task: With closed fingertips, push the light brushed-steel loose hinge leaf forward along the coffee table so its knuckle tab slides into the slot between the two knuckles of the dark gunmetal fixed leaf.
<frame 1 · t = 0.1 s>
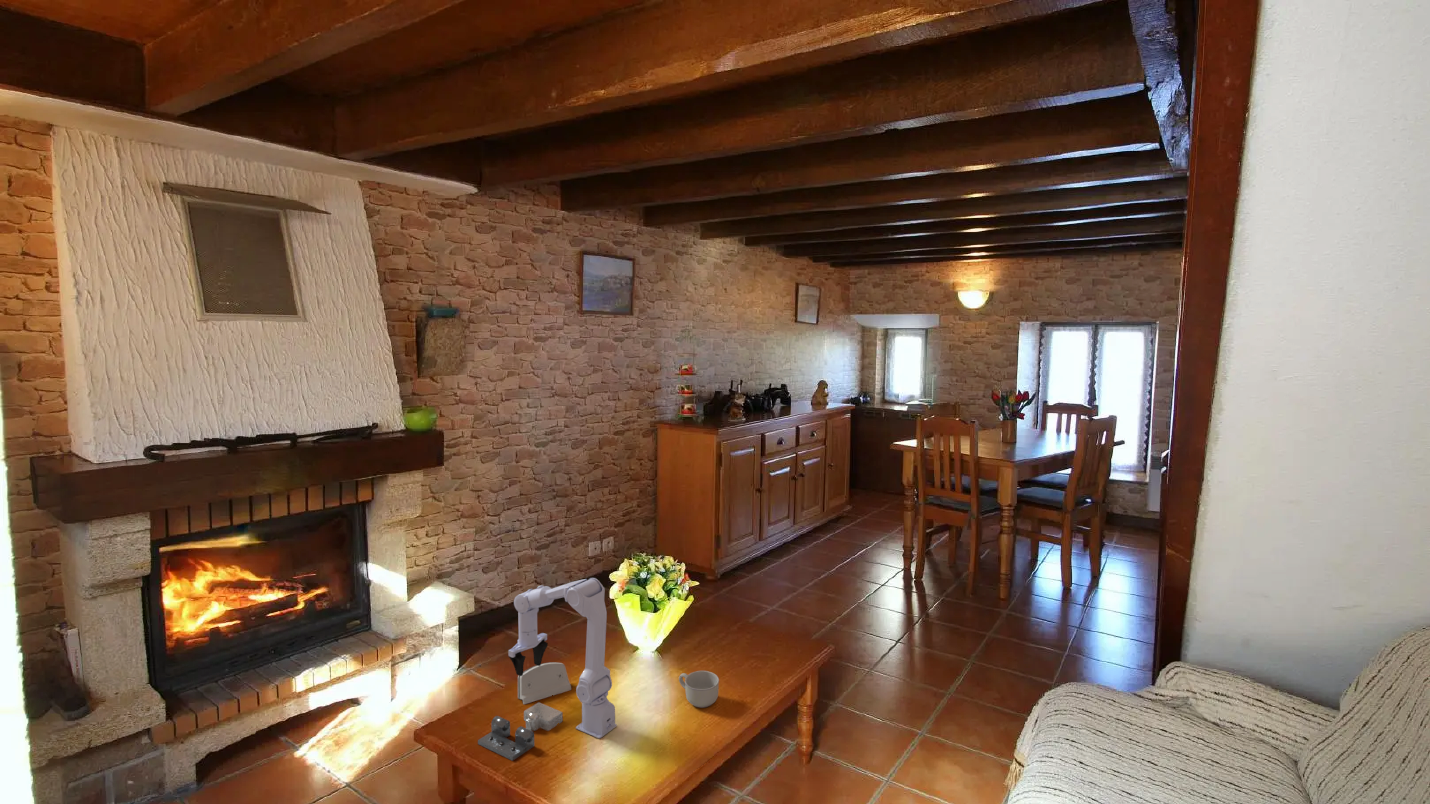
hand: (528, 669, 222), 10 cm above the table, fingers open, 7 cm apart
teacup: (697, 701, 225), on the table
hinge: (543, 692, 228), on the table
loose leaf: (543, 720, 212), on the table
fixed leaf: (508, 743, 200), on the table
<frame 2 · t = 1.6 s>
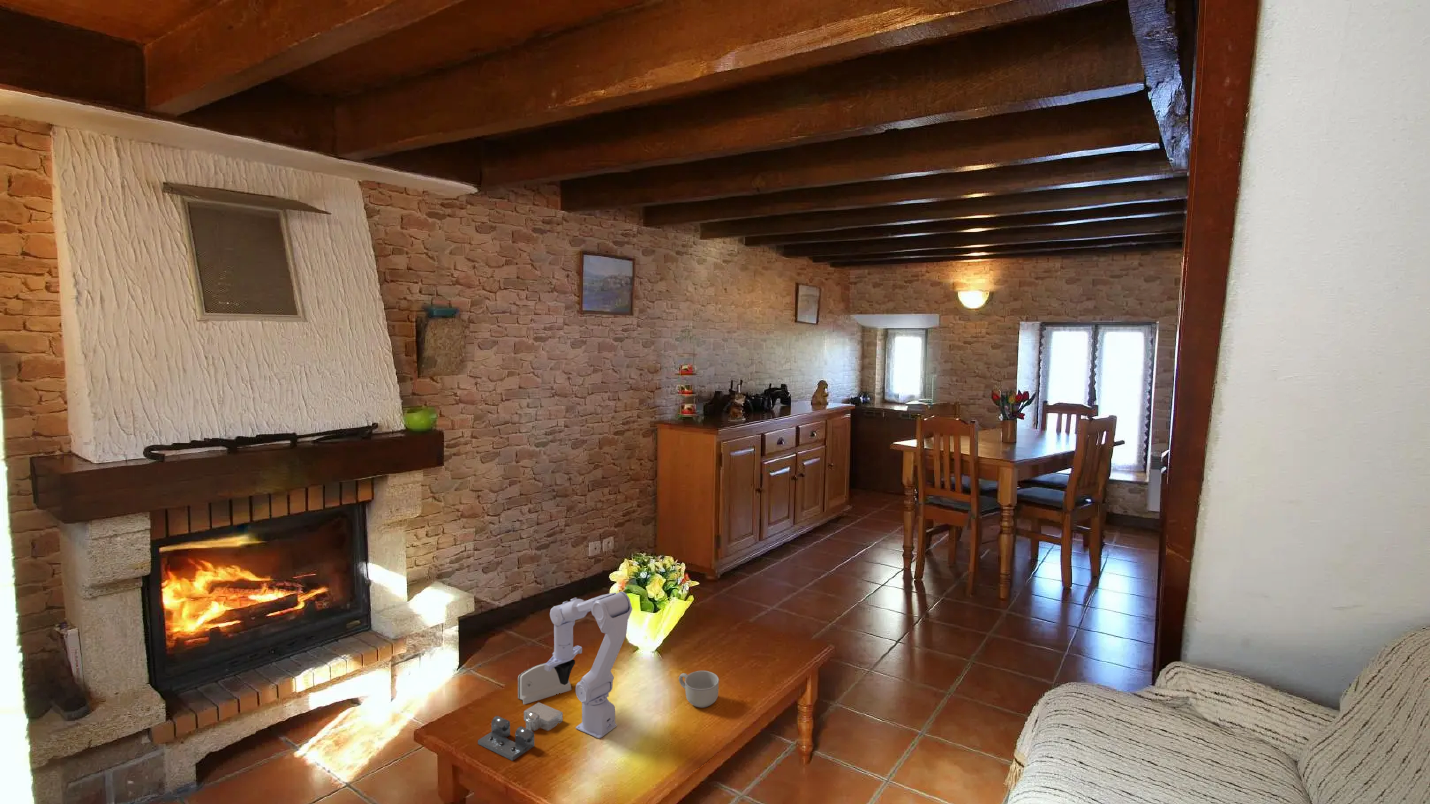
hand: (563, 683, 219), 8 cm above the table, fingers closed
nothing on the table moved.
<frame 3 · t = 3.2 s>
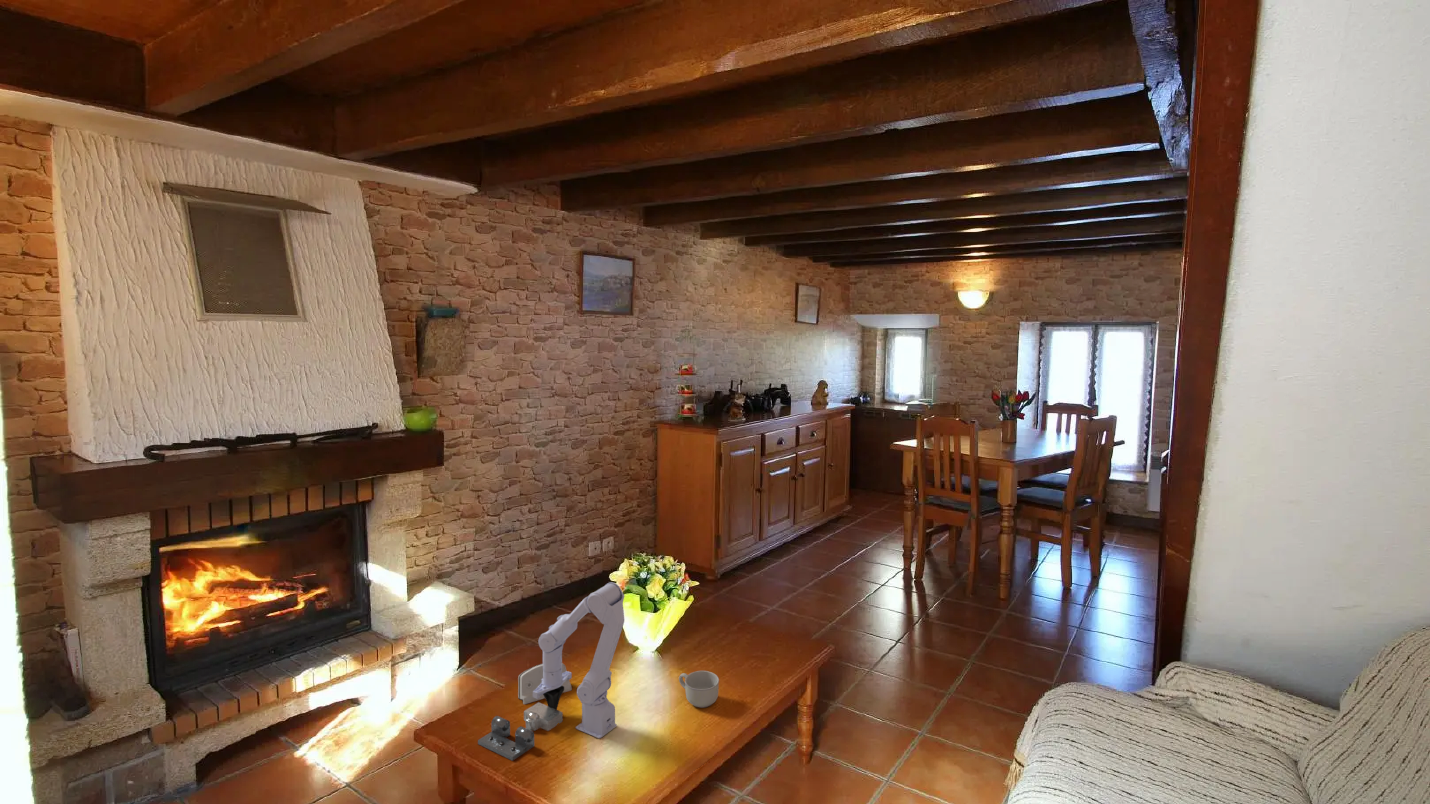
hand: (552, 709, 215), 1 cm above the table, fingers closed
loose leaf: (543, 720, 212), on the table, touching gripper
everything else where it was.
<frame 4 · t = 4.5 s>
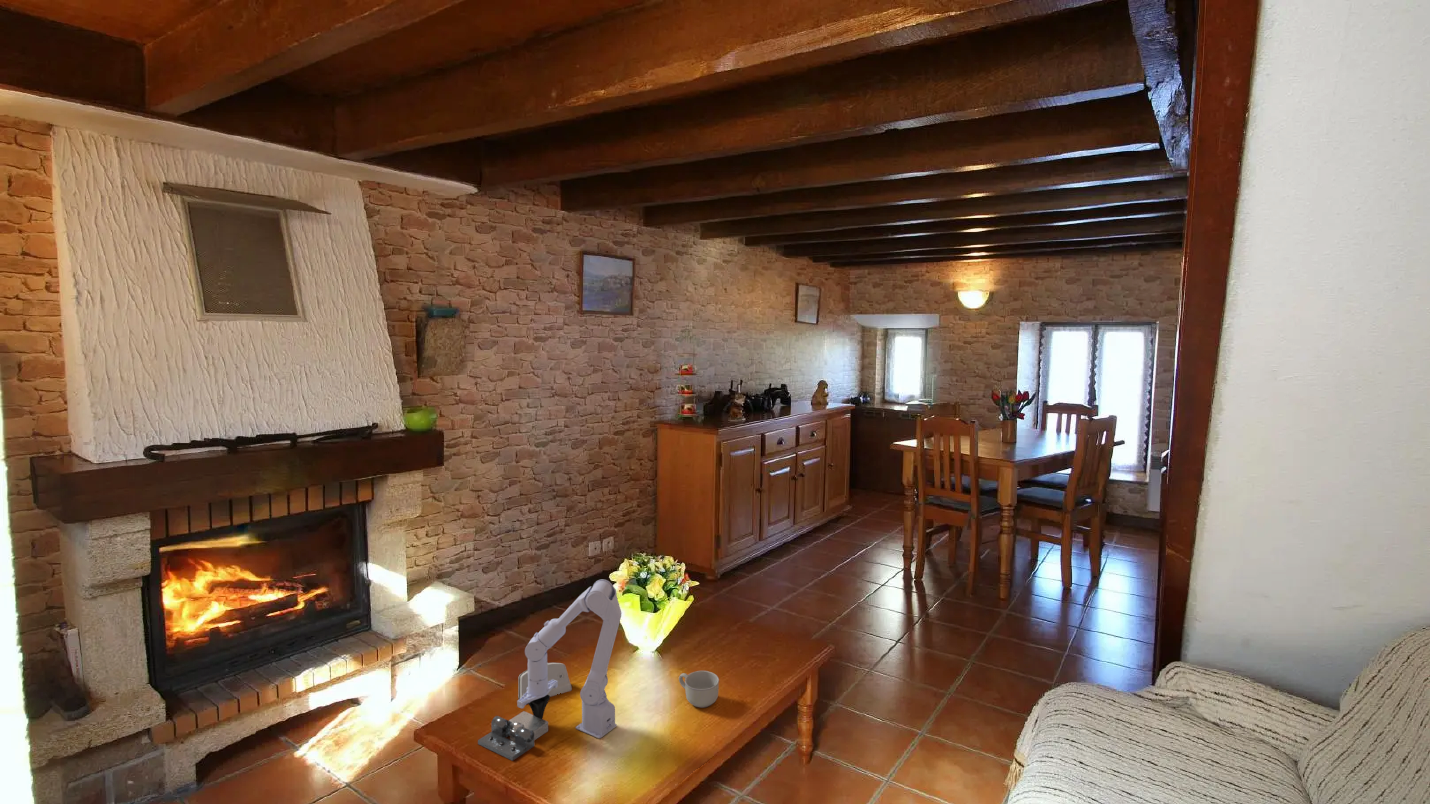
hand: (538, 719, 210), 1 cm above the table, fingers closed
loose leaf: (528, 730, 207), on the table, touching gripper
everything else where it was.
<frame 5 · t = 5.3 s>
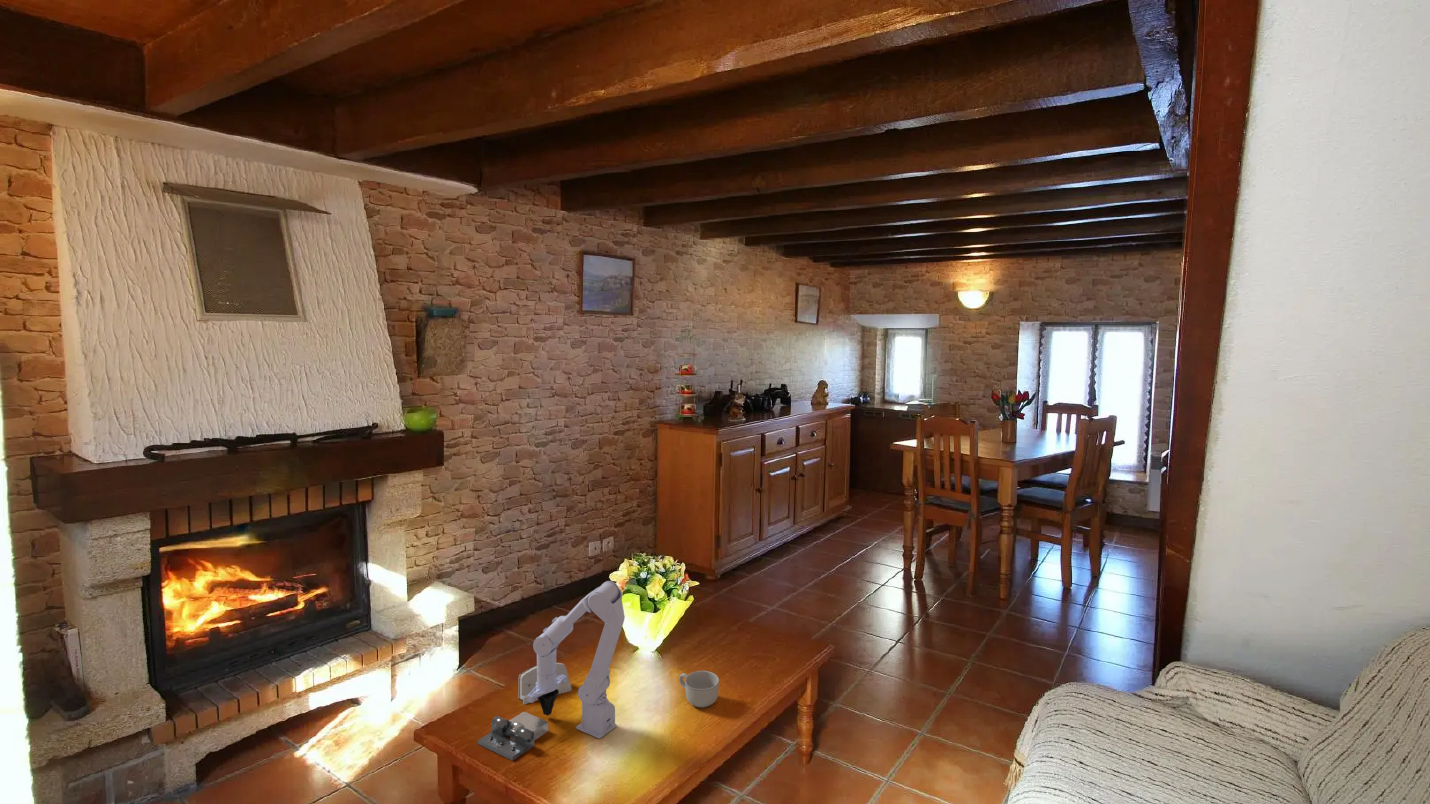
hand: (547, 713, 213), 1 cm above the table, fingers closed
loose leaf: (528, 730, 207), on the table
everything else where it was.
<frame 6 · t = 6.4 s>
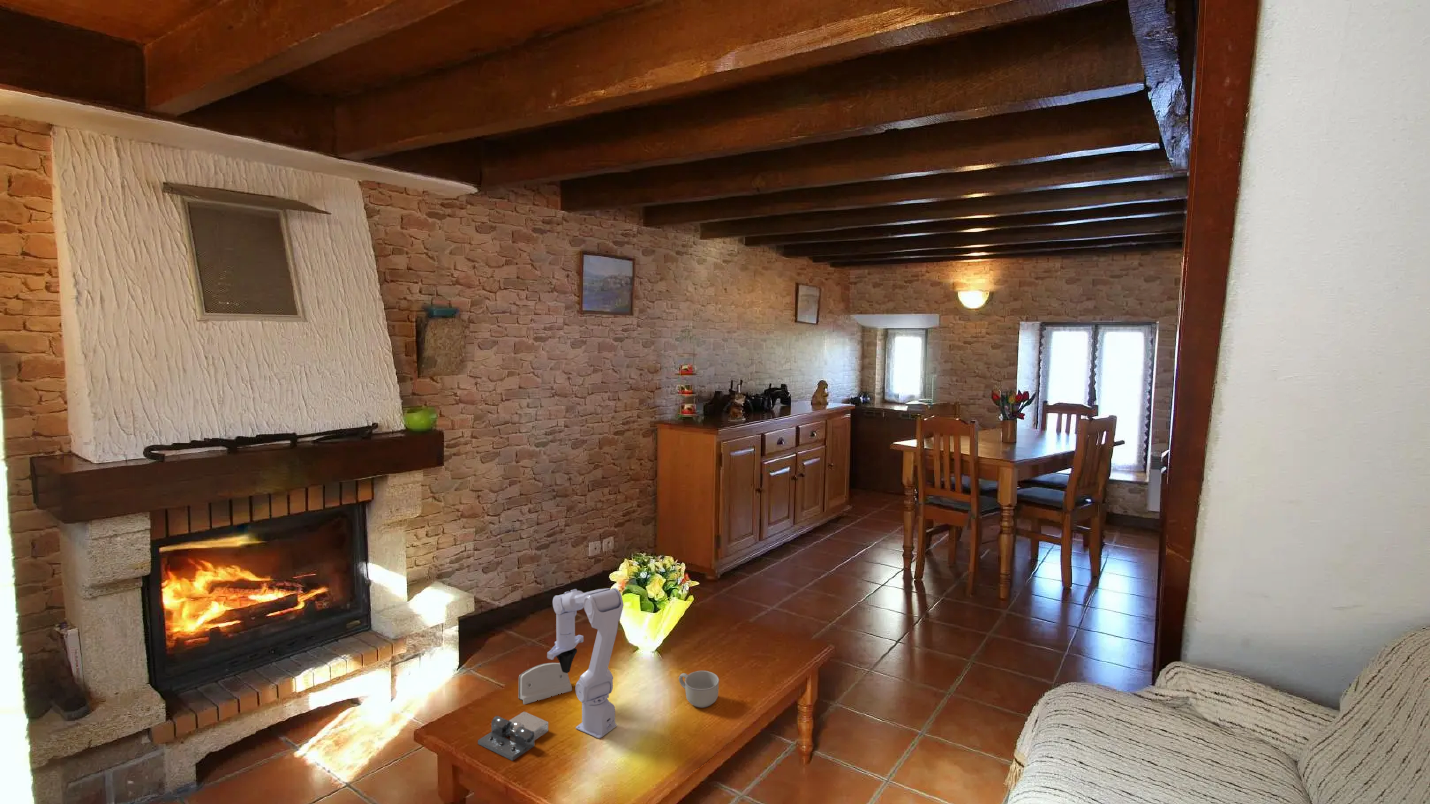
hand: (565, 671, 223), 9 cm above the table, fingers closed
nothing on the table moved.
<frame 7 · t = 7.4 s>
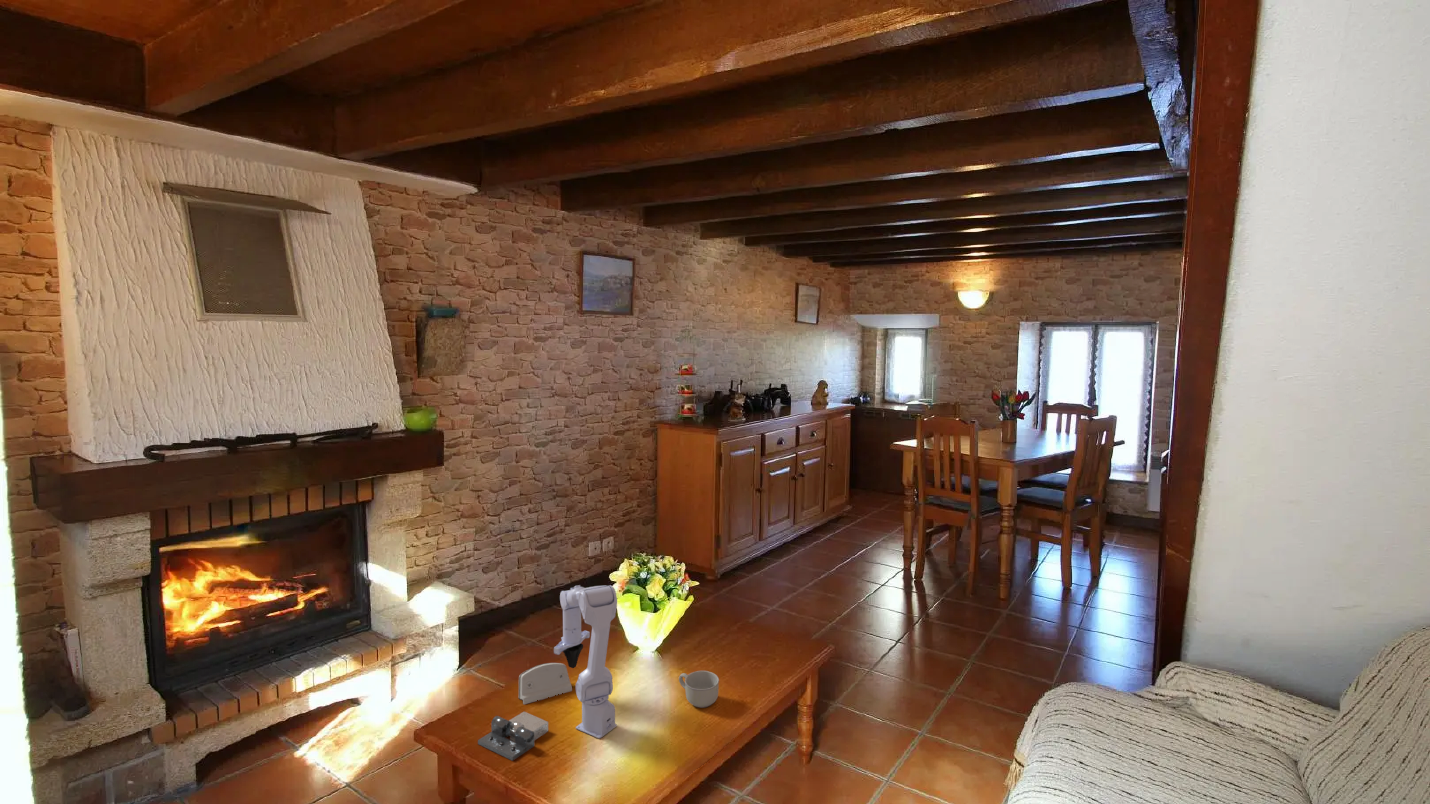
hand: (572, 666, 226), 9 cm above the table, fingers closed
nothing on the table moved.
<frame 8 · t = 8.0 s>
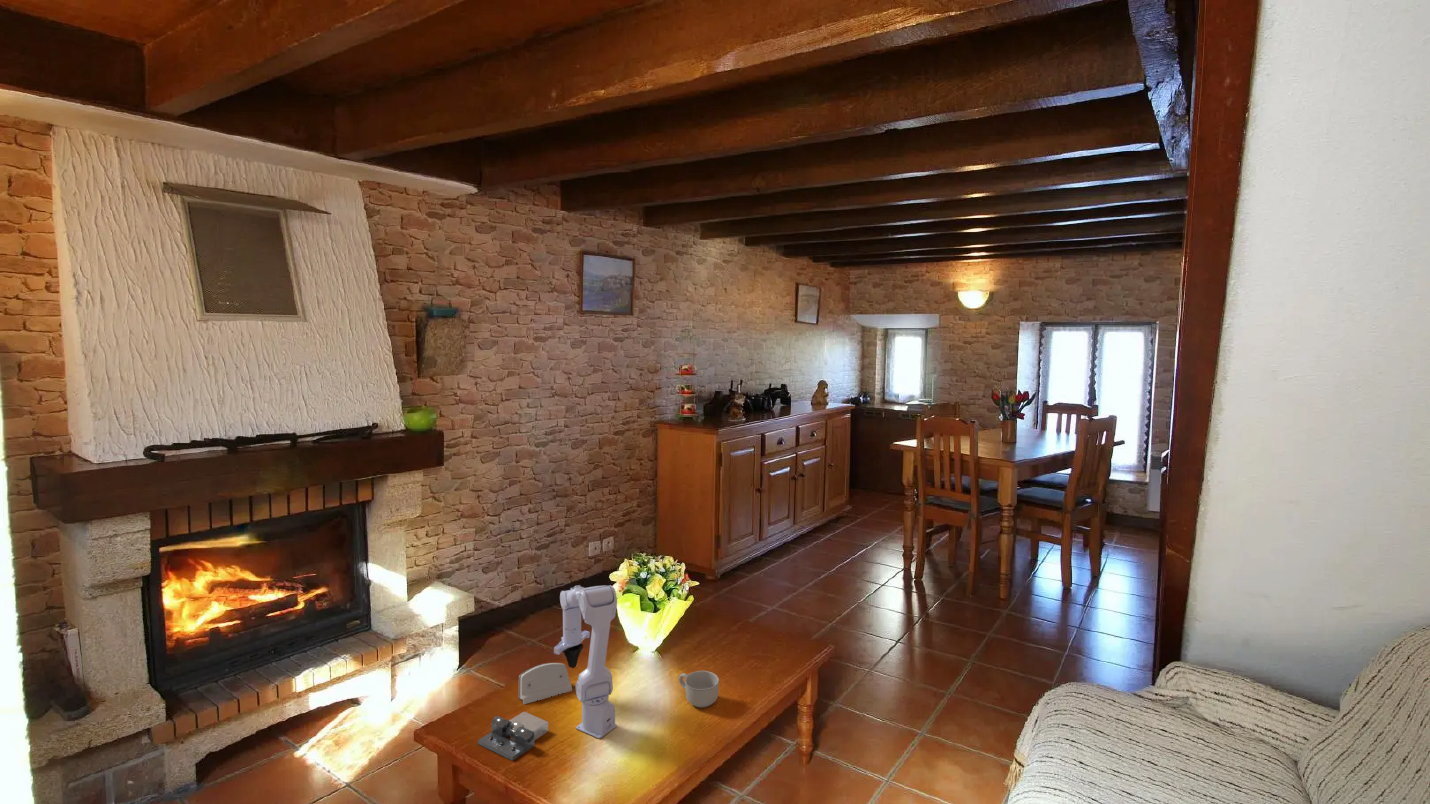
hand: (572, 666, 226), 9 cm above the table, fingers closed
nothing on the table moved.
at the end: loose leaf 0.8 cm from the target spot, on the table; loose leaf tilted 1° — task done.
